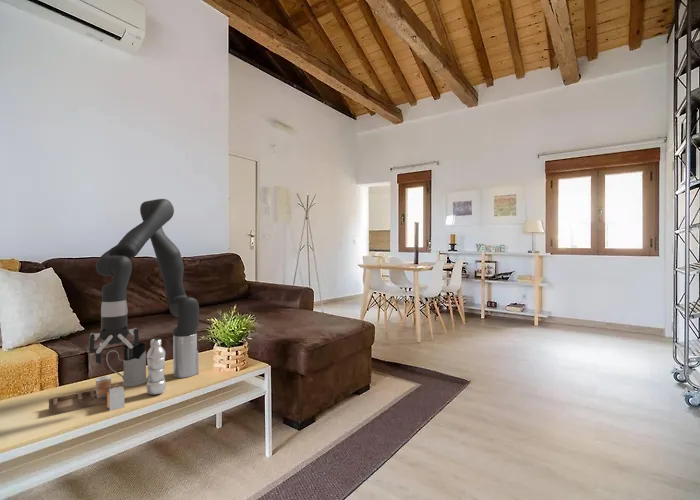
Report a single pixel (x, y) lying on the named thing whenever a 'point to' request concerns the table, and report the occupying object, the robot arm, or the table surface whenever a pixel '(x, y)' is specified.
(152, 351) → the plastic bottle
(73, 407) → the brown wooden rack
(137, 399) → the table surface
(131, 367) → the glass holder
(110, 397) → the wood-topped grey cube
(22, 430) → the table surface
